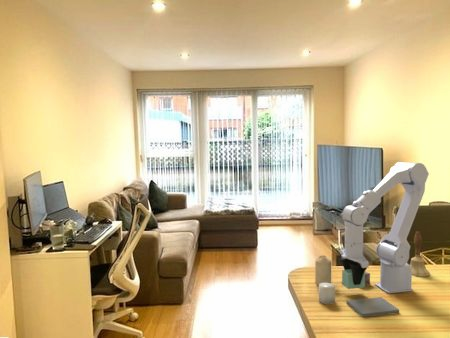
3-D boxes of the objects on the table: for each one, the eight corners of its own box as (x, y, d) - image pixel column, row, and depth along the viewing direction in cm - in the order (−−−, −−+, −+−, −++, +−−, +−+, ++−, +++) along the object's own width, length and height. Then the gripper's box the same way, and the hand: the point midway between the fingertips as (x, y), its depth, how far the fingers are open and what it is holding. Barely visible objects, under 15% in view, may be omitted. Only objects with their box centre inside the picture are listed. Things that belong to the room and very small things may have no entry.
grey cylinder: (330, 296, 121) (330, 282, 121) (337, 303, 116) (337, 288, 116) (316, 298, 120) (316, 283, 120) (323, 304, 115) (323, 289, 115)
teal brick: (358, 282, 125) (358, 268, 125) (364, 287, 121) (365, 272, 121) (342, 284, 124) (342, 269, 124) (348, 289, 120) (348, 274, 120)
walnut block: (359, 279, 136) (359, 268, 135) (369, 284, 131) (370, 273, 131) (348, 281, 133) (349, 271, 133) (359, 286, 129) (359, 275, 129)
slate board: (381, 300, 118) (381, 297, 118) (399, 312, 109) (399, 309, 109) (346, 303, 116) (346, 300, 116) (362, 317, 107) (362, 313, 107)
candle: (331, 287, 129) (331, 259, 128) (315, 286, 130) (315, 258, 129) (330, 281, 134) (330, 254, 133) (315, 280, 135) (315, 253, 134)
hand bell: (401, 272, 141) (402, 232, 140) (410, 267, 147) (411, 228, 145) (425, 278, 135) (426, 236, 134) (433, 272, 141) (434, 231, 139)
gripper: (332, 237, 128) (332, 274, 129) (354, 249, 114) (353, 291, 115) (350, 235, 129) (350, 273, 130) (374, 247, 115) (374, 289, 116)
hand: (353, 281), depth 123 cm, fingers closed on teal brick, 4 cm apart
